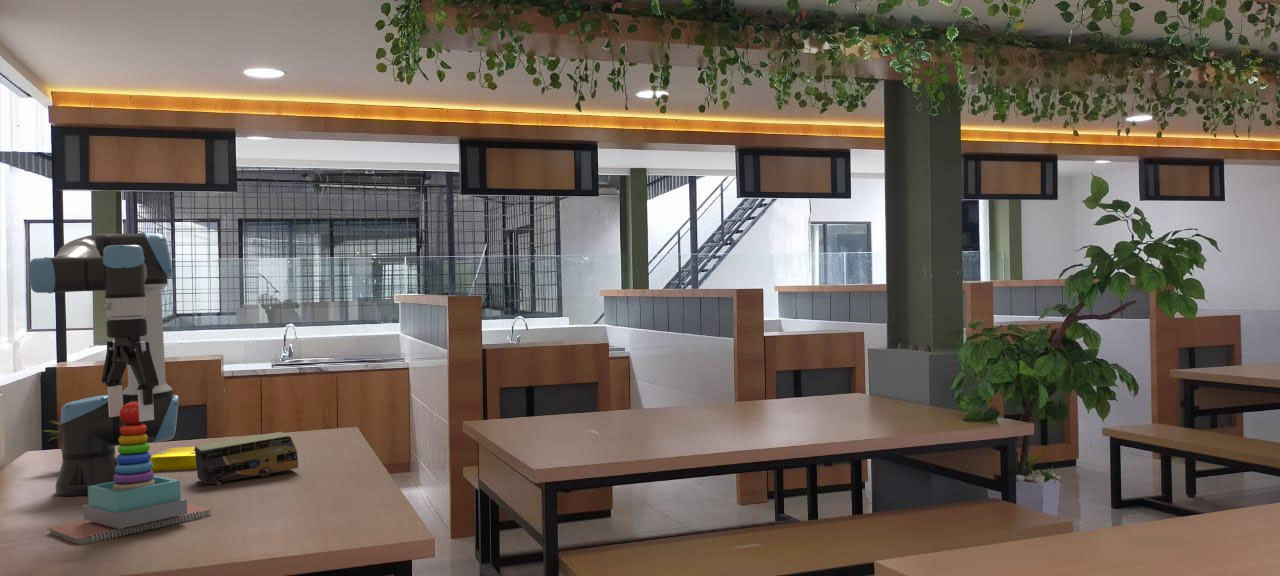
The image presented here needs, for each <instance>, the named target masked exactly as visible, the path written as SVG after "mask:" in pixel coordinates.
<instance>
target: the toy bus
mask: <svg viewBox="0 0 1280 576" xmlns="http://www.w3.org/2000/svg"><path fill="white" fill-rule="evenodd" d="M194 447H195V456H196V466H197V469H196V474H197V478H198V480H199V481H201V482H202V483H203V484H204V485H212V484H216V485H217V486H219V485H222V484H223V483H224V482H229V481H230V482H231V481H233V480H234V481H235V480H240V479H245V478H246V479H247V478H250V477H251V478H252V477H257V476H260V477H261V478H262V479H267V478H269V477H270V475H271V474H273V473H278V472H283V471H289V470H295V469H298V468H299V456H298V451H297V448H296V446H295V443H294V441H293V439H292V437H291V435H289V434H287V433H284V432H282V431H278V432H271V433H266V434H260V435H253V436H247V437H240V438H236V439H235V438H234V439H230V440H228V439H227V440H224V441H217V442H212V443H211V442H210V443H205V444H204V443H203V444H201V445H200V444H199V445H195V446H194Z"/></svg>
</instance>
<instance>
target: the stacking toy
mask: <svg viewBox="0 0 1280 576" xmlns="http://www.w3.org/2000/svg"><path fill="white" fill-rule="evenodd" d="M120 418H121V420H122V422H123V423H125V424H127V425H123V426H122V427H121V428H120V433H121V434H123V435H122V436H120V437H119V440H118V441H119V443H120V444H121V445H118V447H117V452H118V453H119V454H118V455H117V456H116V461H117V463H119V464H117V465H116V467H115V471H116V472H117V473H116V474H115V475H114V477H113V480H114V482H115V484H114V485H113V490H115V491H124V490H129V489H134V488H139V487H144V486H149V485H155V481H154V480H153V479H152V478H153V475H154V471H151V468H152V462H151V461H149V460H150V458H151V456H152V455H151V453H150V452H149V451H150V447H151V446H150V444H149V442H147V443H146V441H147V440H148V436H147V435H146V434H144V433H145V432H146V430H147V427H146V425H145V424H140V423H142V422H143V421H142V422H140V421H139V407H138V402H129V403H127V404H125V405H124V406H123V407H122V408H121V410H120Z"/></svg>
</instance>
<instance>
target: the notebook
mask: <svg viewBox="0 0 1280 576" xmlns="http://www.w3.org/2000/svg"><path fill="white" fill-rule="evenodd" d="M212 511H213V509H212V508H209V507H206V506H205V507H204V506H201V505H196V504H193V503H189V502H187V514H183V515H178V516H174V517H170V518H165V519H161V520H156V521H152V522H148V523H143V524H139V525H134V526H130V527H125V528H121V529H117V528H113V527H110V526H106V525H103V524H99V523H95V522H92V521H88V520H85V519H83V520H78V521H74V522H68V523H64V524H59V525H55V526H50V527H46V529H47V530H49V534H50V533H52V534H51V535H53V534H55V535H57V536H56V537H58V536H60V537H59V538H61V537H63V538H62V539H64V538H66V539H68V541H69V540H71V541H70V542H72V541H74V542H73V543H75V542H77V543H79V544H78V545H84V544H83V543H85V544H89V543H95V542H99V541H101V542H102V541H103V540H104V541H106V540H107V539H108V540H110V539H114V538H118V537H122V536H123V537H124V536H126V535H127V536H128V535H132V534H136V533H140V532H141V533H143V531H144V532H146V531H147V530H148V531H150V529H151V530H154V529H157V528H158V529H159V528H161V527H162V528H164V527H168V526H171V525H173V526H174V525H177V524H181V522H182V523H184V522H187V523H188V522H191V520H192V521H195V520H198V519H199V520H200V519H201V518H202V519H204V517H209V516H211V512H212ZM55 535H54V536H55ZM66 539H65V540H66ZM77 543H76V544H77Z"/></svg>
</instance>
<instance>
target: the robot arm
mask: <svg viewBox="0 0 1280 576" xmlns="http://www.w3.org/2000/svg"><path fill="white" fill-rule="evenodd" d="M28 277H29V278H28V280H29V284H30V285H29V286H30V289H31V291H33V292H34V293H38V294H46V293H47V294H54V293H73V292H74V293H75V292H78V293H79V292H101V291H102V292H105V297H104V298H105V303H104V304H103V307H104V308H105V316H106V317H107V318H109V319H107V321H106V335H107V338H109V339H110V338H111V339H113V340H107V342H106V354H105V358H104V364H103V369H102V375H101V383H102V384H105V386H106V387H107V394H104V395H97V396H95V395H94V396H92V397H85V398H82V399H78V400H73V401H69V402H66V403H65V404H64V405H63V406H61V409H60V422H59V423H60V424H61V427H60V432H61V436H60V437H61V438H62V439H61V448H62V451H61V457H62V462H61V466H60V469H59V473H58V476H57V479H56V483H55V494H56V495H57V496H61V495H62V496H63V497H65V496H66V497H68V496H69V497H72V496H73V497H75V496H88V486H92V485H98V484H103V483H108V482H114V480H113V477H114V475H115V474H116V473H117V472H116V471H115V467H116V465H117V464H119V463H117V461H116V458H117V456H116V446H120V445H121V444H120V443H119V441H118V440H119V437H120V436H122V435H123V434H121V433H120V428H121V427H122V426H123V425H127V424H125V423H123V422H122V420H121V418H120V410H121V408H122V407H123V406H124V405H125V404H127V403H129V402H138V407H139V421H140V422H142V421H143V422H142V423H140V424H145V425H146V427H147V430H146V432H145V433H144V434H146V435H147V436H148V440H147V441H146V443H154V444H155V443H157V442H163V441H170V440H172V439H173V438H174V437H175V435H176V429H177V423H178V422H177V420H178V413H179V401H180V398H179V395H178V394H177V395H176V394H173V387H171V386H170V385H169V384H167V382H166V363H165V361H166V359H165V343H164V341H165V339H164V323H163V321H164V320H163V301H162V292H163V290H164V289H165V288H166V287H167V285H168V279H170V278H173V277H174V271H173V265H172V260H171V253H170V250H169V246H168V241H167V238H166V237H165V235H163V234H162V233H152V232H151V233H150V232H139V233H138V232H137V233H134V232H133V233H130V232H128V233H97V234H92V235H86V236H83V237H79V238H76V239H74V240H70V241H69V242H67V243H65V244H64V245H62V246H61V247H60V248H59V250H58V251H57V253H56V255H55V256H54V257H47V256H44V257H40V258H39V257H38V258H32V259H31V260H30V262H29V265H28ZM126 367H127V368H126ZM126 369H127V382H128V384H127V387H125V389H124V390H123V385H124V382H123V381H122V378H123V376H124V372H125V370H126ZM60 424H59V425H60ZM62 496H61V497H62Z"/></svg>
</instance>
